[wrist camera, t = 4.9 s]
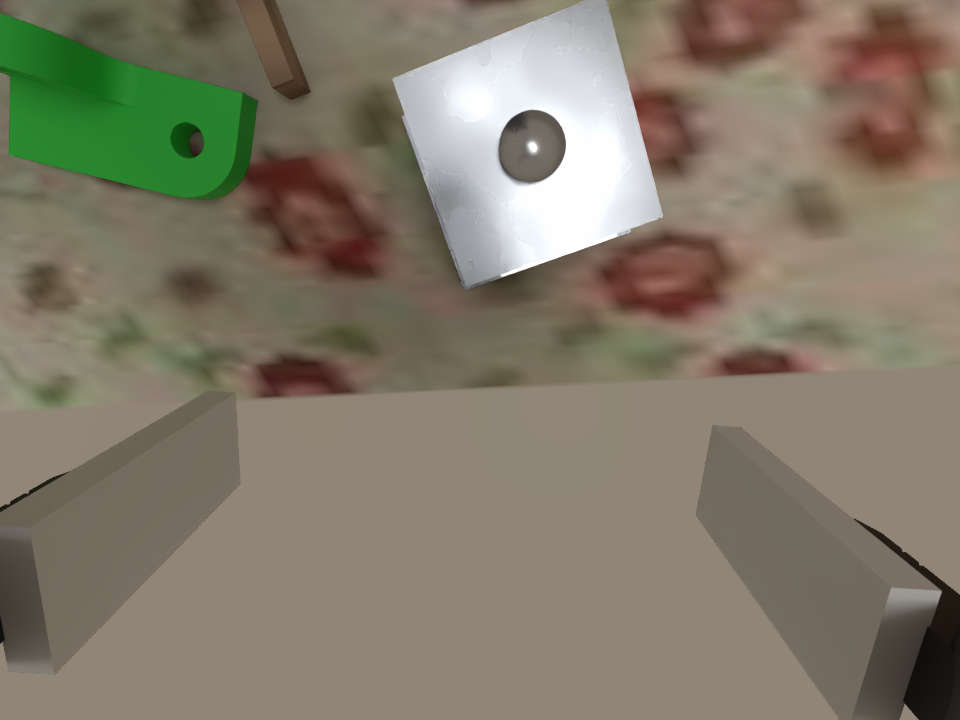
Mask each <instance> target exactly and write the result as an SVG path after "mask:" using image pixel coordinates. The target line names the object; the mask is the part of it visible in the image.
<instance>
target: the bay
mask: <svg viewBox="0 0 960 720" xmlns="http://www.w3.org/2000/svg"><path fill="white" fill-rule="evenodd" d="M237 3H238V5H239V7H240V10H241V12H242V15H243V17H244V20H245V22H246V25H247V27H248V29H249V32H250V34H251V37H252V39H253V42H254V44H255V47H256V49H257V52H258V54H259V56H260V59H261V61H262V64H263V66H264V69H265V71H266V74H267V76H268V79H269V81H270V83H271V86H272V88H274V89H275V90H277V91H278V92H280V93H281V94H283V95H285V96H286V97H288V98H289V99H293V98H295V97H298V96H300V95H303V94H305V93H308V92H310V89H309V86H308V84H307V81H306V79H305V76H304V73H303V71H302V68H301V66H300V63H299V61H298V58H297V56H296V53H295V51H294V48H293V45H292V43H291V40H290V38H289V35H288V33H287V30H286V28H285V25H284V23H283V20H282V17H281V15H280V12H279V10H278V7H277V5H276V2H275V0H237Z"/></svg>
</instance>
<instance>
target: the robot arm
mask: <svg viewBox="0 0 960 720" xmlns="http://www.w3.org/2000/svg"><path fill="white" fill-rule="evenodd" d="M237 432H238V430H237V414H236V395H235V393H228V392H214V391H207V392H205V393H204V394H202V395H200V396H198V397H197V398H195V399H193V400H192V401H190V402H188V403H186V404H185V405H183V406H181V407H180V408H178V409H176V410H175V411H173V412H171V413H169V414H168V415H166V416H164V417H163V418H161V419H159V420H157V421H156V422H154V423H152V424H151V425H149V426H147V427H145V428H144V429H142V430H140V431H139V432H137V433H135V434H134V435H132V436H130V437H128V438H127V439H125V440H123V441H121V442H120V443H118V444H117V445H115V446H113V447H111V448H109V449H108V450H106V451H105V452H103V453H101V454H99V455H97V456H96V457H94V458H92V459H91V460H89V461H87V462H85V463H84V464H82V465H80V466H79V467H77V468H75V469H73V470H72V471H69V472H67V473H64V474H61V475H58V476H56V477H53V478H51V479H49V480H47V481H46V482H44V483H42V484H40V485H38V486H37V487H35V488H33V489H31V490H30V491H29V493H28V494H23V495H21V496H19V497H18V498H16V499H14V500H12V501H11V502H10V504H9V505H4V506H2V507H0V644H1V642H3V646H4V651H5V656H6V661H7V666H8V670H9V672H17V673H31V674H46V675H55V674H56V673H57V672H58V671H59V670H60V669H61V668H62V667H63V666H64V665H65V664H66V662H68V661H69V660H70V659H71V658H72V657H73V656H74V655H75V654H76V653H77V652H78V650H79V649H80V648H81V647H82V646H83V645H84V644H85V643H86V642H87V641H88V640H89V639H90V638H91V637H92V636H93V635H94V634H95V633H96V632H97V631H98V630H99V629H100V628H101V627H102V626H103V625H104V624H105V622H106V621H108V620H109V619H110V618H111V617H112V615H113V614H114V613H115V612H116V611H117V610H118V609H119V608H120V607H121V606H122V605H123V604H124V603H125V602H126V601H127V600H128V599H129V598H130V597H131V596H132V595H133V594H134V593H135V592H136V591H137V590H138V589H139V588H140V587H141V586H142V585H143V584H144V583H145V581H147V579H148V578H149V577H150V576H151V575H152V574H153V573H154V572H155V571H156V570H157V569H158V568H159V567H160V566H161V565H162V564H163V563H164V562H165V561H166V560H167V559H168V558H169V557H170V556H171V555H172V554H173V553H174V552H175V551H176V549H178V548H179V547H180V546H181V545H182V544H183V542H184V541H185V540H186V539H187V538H188V537H189V536H190V535H191V534H192V533H193V532H194V531H195V530H196V529H197V528H198V527H199V526H200V525H201V524H202V523H203V522H204V521H205V520H206V519H207V518H208V517H209V516H210V515H211V514H212V512H214V511H215V509H216V508H218V506H219V505H220V504H221V503H222V502H223V501H224V500H225V499H226V498H227V497H228V496H229V495H230V494H231V493H232V492H233V491H234V490H235V489H236V488H237V487H238V486H239V485H240V467H239V448H238V433H237ZM696 516H697V518H698V519H699V520H700V522H701V523H702V525H703V526H704V528H705V529H706V530H707V532H708V533H709V535H710V536H711V538H712V539H713V540H714V542H715V543H716V545H717V546H718V548H719V549H720V550H721V552H722V553H723V555H724V556H725V557H726V559H727V560H728V562H729V563H730V565H731V566H732V567H733V569H734V570H735V572H736V573H737V575H738V576H739V577H740V579H741V580H742V582H743V583H744V585H745V586H746V587H747V589H748V590H749V591H750V593H751V594H752V596H753V597H754V599H755V600H756V602H757V603H758V604H759V606H760V607H761V609H762V610H763V612H764V613H765V614H766V616H767V617H768V619H769V620H770V621H771V623H772V624H773V626H774V627H775V628H776V630H777V631H778V633H779V634H780V636H781V637H782V639H783V640H784V641H785V643H786V644H787V646H788V647H789V649H790V650H791V651H792V653H793V654H794V656H795V657H796V658H797V660H798V661H799V663H800V664H801V666H802V667H803V669H804V670H805V671H806V673H807V674H808V676H809V677H810V678H811V680H812V681H813V683H814V684H815V686H816V687H817V688H818V690H819V691H820V693H821V694H822V696H823V697H824V698H825V700H826V701H827V703H828V704H829V705H830V707H831V708H832V710H833V711H834V713H835V714H836V715H837V717H838V718H839V720H899V719H900V716H901V713H902V710H903V707H904V704H906V705H907V706H908V708H909V709H910V710H911V711H912V712H913V714H914V715H915V716H916V717H917V718H918V719H919V720H960V595H959V594H958V593H957V592H956V591H954V590H953V589H952V588H950V587H949V586H948V585H947V584H945V583H944V582H943V581H941V580H940V579H939V578H938V577H937V576H935V575H934V574H933V573H932V572H930V571H929V570H928V569H927V568H925V567H924V566H919V562H918V561H916V560H915V559H914V558H913V557H911V556H910V555H909V554H908V553H906V552H902V549H901V548H900V547H899V546H897V545H896V544H895V543H894V542H892V541H891V540H890V539H888V538H887V537H886V536H885V535H884V534H882V533H880V532H879V531H877V530H875V529H873V528H871V527H869V526H867V525H865V524H864V523H862V522H860V521H858V520H856V519H853V518H852V517H850V516H849V515H848V514H847V513H845V512H844V511H843V510H842V509H840V508H839V507H838V506H837V505H836V504H834V503H833V502H832V501H831V500H829V499H828V498H827V497H826V496H824V495H823V494H822V493H821V492H820V491H818V490H817V489H816V488H815V487H813V486H812V485H811V484H810V483H808V482H807V481H806V480H805V479H804V478H802V477H801V476H800V475H799V474H797V473H796V472H795V471H794V470H793V469H791V468H790V467H789V466H788V465H786V464H785V463H784V462H783V461H781V460H780V459H779V458H778V457H777V456H775V455H774V454H773V453H772V452H770V451H769V450H768V449H767V448H765V447H764V446H763V445H762V444H761V443H759V442H758V441H757V440H756V439H754V438H753V437H752V436H751V435H750V434H748V433H747V432H746V431H745V430H743V429H742V428H741V427H730V426H716V425H713V426H712V431H711V437H710V442H709V447H708V452H707V458H706V463H705V468H704V474H703V479H702V484H701V490H700V495H699V501H698V506H697V511H696Z"/></svg>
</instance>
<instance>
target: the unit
mask: <svg viewBox="0 0 960 720" xmlns="http://www.w3.org/2000/svg"><path fill="white" fill-rule="evenodd" d="M392 80H393V83H394V85H395V88H396V91H397V94H398V97H399V99H400V102H401V105H402V108H403V111H404V113H405V115H403V116H402V119H403V122H404V124H405V127H406V130H407V133H408V136H409V138H410V141H411V144H412V147H413V150H414V152H415V155H416V158H417V161H418V163H419V166H420V169H421V172H422V175H423V177H424V180H425V183H426V186H427V188H428V191H429V194H430V197H431V200H432V202H433V205H434V208H435V211H436V214H437V216H438V219H439V222H440V225H441V227H442V230H443V233H444V236H445V239H446V241H447V244H448V247H449V250H450V252H451V255H452V258H453V261H454V264H455V266H456V269H457V272H458V275H459V278H460V280H461V283H462V286H463V289H464V291H466V290H468V289H471V288H474V287H477V286H480V285H483V284H485V283H488V282H491V281H494V280H497V279H500V278H502V277H505V276H508V275H511V274H514V273H517V272H519V271H522V270H525V269H528V268H531V267H534V266H536V265H539V264H542V263H545V262H548V261H551V260H553V259H556V258H559V257H562V256H565V255H568V254H570V253H573V252H576V251H579V250H582V249H585V248H587V247H590V246H593V245H596V244H599V243H602V242H604V241H607V240H610V239H613V238H616V237H619V236H621V235H624V234H627V233H630V232H631V230H630V229H631V228H634V227H637V226H639V225H642V224H645V223H648V222H651V221H654V220H656V219H659V218H662V217H663V214H662V210H661V206H660V202H659V199H658V195H657V191H656V187H655V183H654V179H653V176H652V172H651V168H650V164H649V160H648V157H647V153H646V149H645V145H644V141H643V138H642V134H641V130H640V126H639V122H638V118H637V115H636V111H635V107H634V103H633V99H632V96H631V92H630V88H629V84H628V80H627V77H626V73H625V69H624V65H623V61H622V57H621V54H620V50H619V46H618V42H617V38H616V35H615V31H614V27H613V23H612V19H611V16H610V12H609V8H608V4H607V0H585V1H583V2H580V3H578V4H575V5H573V6H570V7H568V8H565V9H563V10H560V11H558V12H555V13H553V14H550V15H548V16H545V17H543V18H541V19H538V20H536V21H533V22H531V23H528V24H526V25H523V26H521V27H518V28H516V29H513V30H511V31H508V32H506V33H503V34H501V35H498V36H496V37H493V38H491V39H488V40H486V41H483V42H481V43H479V44H476V45H474V46H471V47H469V48H466V49H464V50H461V51H459V52H456V53H454V54H451V55H449V56H446V57H444V58H441V59H439V60H436V61H434V62H431V63H429V64H426V65H424V66H422V67H419V68H417V69H414V70H412V71H409V72H407V73H404V74H402V75H399V76H397V77H394V78H392Z"/></svg>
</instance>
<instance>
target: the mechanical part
mask: <svg viewBox="0 0 960 720" xmlns="http://www.w3.org/2000/svg"><path fill="white" fill-rule="evenodd" d="M0 72H1V73H4V74H7V75H10V122H9V155H10V156H15V157H19V158H23V159H27V160H31V161H35V162H39V163H43V164H47V165H51V166H55V167H59V168H63V169H67V170H71V171H75V172H79V173H83V174H87V175H91V176H95V177H99V178H104V179H108V180H112V181H116V182H120V183H124V184H128V185H132V186H136V187H140V188H144V189H148V190H152V191H156V192H160V193H164V194H168V195H172V196H177V197H184V198H194V199H214V198H218V197H221V196H223V195H225V194H227V193H229V192H230V191H232V190H233V189H234V188H235V187H237V186H238V184H239V183H240V182H241V181H242V179H243V178H244V176H245V174H246V172H247V169H248V167H249V163H250V158H251V150H252V142H253V134H254V126H255V118H256V110H257V102H258V101H257V100H255V99H253V98H252V97H250V96H248V95H246V94H244V93H242V92H238V91H234V90H230V89H226V88H222V87H218V86H214V85H211V84H207V83H203V82H199V81H195V80H191V79H187V78H183V77H179V76H175V75H171V74H167V73H164V72H160V71H156V70H152V69H148V68H144V67H140V66H136V65H133V64H130V63H126V62H123V61H120V60H117V59H114V58H112V57H109V56H106V55H104V54H102V53H99V52H97V51H95V50H93V49H90V48H88V47H86V46H84V45H81V44H79V43H77V42H75V41H73V40H70V39H68V38H66V37H63V36H61V35H59V34H56V33H54V32H51V31H49V30H46V29H43V28H41V27H38V26H35V25H33V24H30V23H27V22H24V21H21V20H19V19H16V18H13V17H10V16H7V15H4V14H1V13H0ZM198 129H199V130H200V131H201V133H202V135H203V138H204V148H203V150H202V152H201V153H200V154H199V155H198V156H197V157H194V155H193V154H192V152H191V150H190V146H189V141H190V137H191V135H192V134H193V132H195V131H196V130H198Z"/></svg>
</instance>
